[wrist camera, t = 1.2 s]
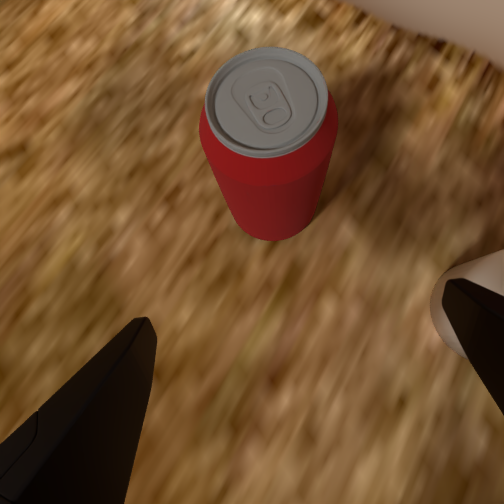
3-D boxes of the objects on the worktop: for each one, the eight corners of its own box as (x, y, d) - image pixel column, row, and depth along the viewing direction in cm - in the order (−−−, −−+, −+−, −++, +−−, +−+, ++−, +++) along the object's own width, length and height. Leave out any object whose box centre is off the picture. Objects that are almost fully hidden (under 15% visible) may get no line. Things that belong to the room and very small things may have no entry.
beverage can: (292, 152, 26) (300, 10, 14) (331, 221, 24) (376, 124, 13) (218, 186, 26) (166, 72, 14) (252, 258, 24) (225, 195, 13)
